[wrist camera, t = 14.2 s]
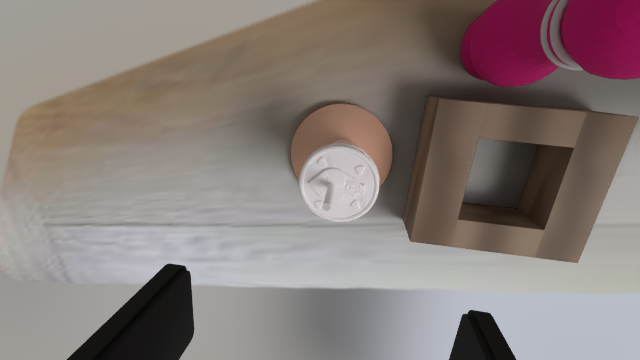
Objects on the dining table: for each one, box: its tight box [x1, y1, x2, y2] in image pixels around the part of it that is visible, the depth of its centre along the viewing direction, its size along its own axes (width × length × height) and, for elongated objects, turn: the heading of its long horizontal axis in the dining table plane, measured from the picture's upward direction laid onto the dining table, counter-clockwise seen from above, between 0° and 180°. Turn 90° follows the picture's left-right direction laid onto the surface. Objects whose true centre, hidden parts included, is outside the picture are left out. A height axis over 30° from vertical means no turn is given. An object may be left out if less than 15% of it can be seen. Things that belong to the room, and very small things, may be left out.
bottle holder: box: [403, 96, 639, 263], centre depth 30 cm, size 16×14×5 cm
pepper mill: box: [461, 0, 640, 87], centre depth 19 cm, size 7×7×20 cm
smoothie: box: [299, 139, 379, 222], centre depth 26 cm, size 6×6×14 cm
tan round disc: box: [291, 103, 393, 187], centre depth 33 cm, size 11×11×1 cm
